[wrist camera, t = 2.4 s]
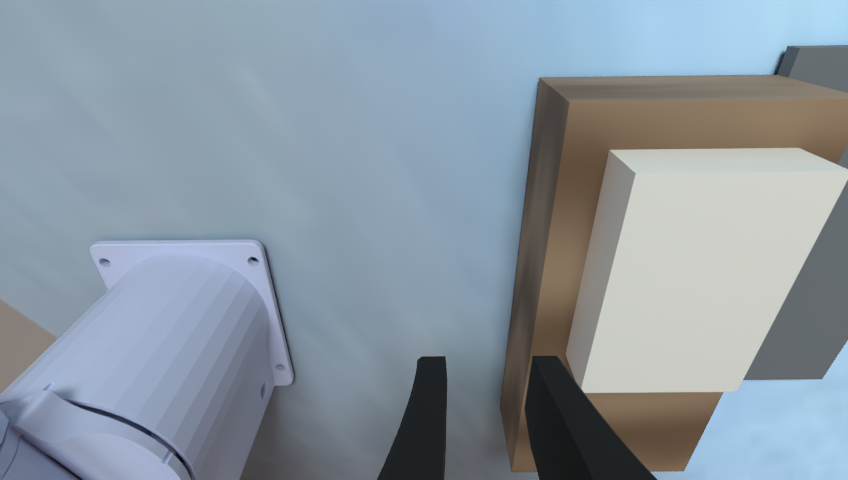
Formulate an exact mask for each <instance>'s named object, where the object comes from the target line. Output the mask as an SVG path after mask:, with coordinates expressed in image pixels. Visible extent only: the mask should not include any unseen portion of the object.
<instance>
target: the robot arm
mask: <svg viewBox="0 0 848 480" xmlns="http://www.w3.org/2000/svg"><path fill="white" fill-rule="evenodd" d="M90 253H91V255H92V257H93V260H94V262H95V264H96V266H97V268H98V270H99V272H100V274H101V276H102V278H103V280H104V282H105V285H106V287H107V289H108V291H107V292H106V293H105V294H104V295H103V296H102V297H101V298H100V299H99V300H98V301H97V302H96V303H95V304H93V305H92V306H91V307H90V308H89V309H88V310H87V311H86V312H85V313H84V314H83V315H82V316H81V317H80V318H79V319H78V320H77V321H76V322H75V323H74V324H73V325H72V326H71V327H70V328H69V329H68V330H67V331H66V332H65V333H63V334H62V335H61V336H60V337H59V338H58V339H57V340H56V341H55V342H54V343H53V344H52V345H51V346H50V347H49V348H48V349H47V350H46V351H45V352H44V353H43V354H42V355H41V356H40V357H39V358H38V359H37V360H36V361H35V362H34V363H33V364H31V366H29V367H28V368H27V369H26V370H25V371H24V372H23V373H22V374H21V375H20V376H19V377H18V378H17V379H16V380H15V381H14V382H13V383H12V384H11V385H10V386H9V387H8V388H7V389H6V390H5V391H4V392H2V394H0V480H239V479H240V477H241V475H242V472H243V469H244V466H245V464H246V461H247V458H248V456H249V453H250V450H251V448H252V445H253V442H254V440H255V437H256V434H257V432H258V429H259V426H260V424H261V421H262V418H263V416H264V413H265V410H266V408H267V405H268V402H269V399H270V397H271V394H272V391H273V389H274V386H286V385H290V384H291V383H292V382H293V379H294V374H293V369H292V365H291V361H290V357H289V352H288V348H287V344H286V340H285V335H284V331H283V327H282V323H281V318H280V314H279V310H278V305H277V301H276V297H275V293H274V288H273V284H272V280H271V276H270V271H269V267H268V263H267V259H266V254H265V250H264V247H263V245H262V244H261V243H260V242H258V241H256V240H146V241H98V242H96V243H95V244H94V245H93V246H91V248H90ZM251 257H255V258H257V259H258V262H256V261H253V260H252V259H251ZM105 259H107V260H109V262H110V263H109V262H108V261H106V260H105ZM280 364H282V365H280ZM446 410H447V371H446V360H445V356H437V357H421V358H419V359H418V361H417V370H416V375H415V380H414V384H413V388H412V391H411V395H410V398H409V402H408V405H407V408H406V410H405V413H404V416H403V419H402V422H401V425H400V428H399V430H398V433H397V435H396V438H395V440H394V442H393V445H392V447H391V449H390V452H389V454H388V457H387V459H386V461H385V464H384V466H383V468H382V470H381V472H380V474H379V476H378V479H377V480H444V472H445V451H446ZM524 410H525V416H526V422H527V428H528V434H529V440H530V446H531V450H532V454H533V458H534V461H535V465H536V469H537V472H538V476H539V479H540V480H657V479H656V478H655V477H654V476H653V475H652V474H651V472H650V471H649V470H648V469H647V468H646V467H645V466H644V465H643V464H642V463H641V461H640V460H639V459H638V458H637V457H636V456H635V455H634V454H633V452H632V451H631V450H630V449H629V448H628V447H627V446H626V444H625V443H624V442H623V441H622V440H621V439H620V437H619V436H618V435H617V434H616V433H615V431H614V430H613V429H612V428H611V426H610V425H609V424H608V423H607V422H606V420H605V419H604V418H603V417H602V415H601V414H600V413H599V412H598V410H597V409H596V408H595V407H594V405H593V404H592V403H591V401H590V400H589V399H588V397H587V396H586V395H585V393H584V392H583V391H582V389H581V388H580V387H579V385H578V384H577V383H576V381H575V380H574V378H573V377H572V376H571V374H570V373H569V371H568V370H567V369H566V367H565V366H564V364H563V363H562V361H561V360H560V359H559V358H558V357H557V356H533V357H532V364H531V370H530V376H529V382H528V388H527V395H526V401H525V407H524Z"/></svg>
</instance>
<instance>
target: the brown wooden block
mask: <svg viewBox="0 0 848 480" xmlns="http://www.w3.org/2000/svg"><path fill="white" fill-rule="evenodd" d="M847 145H848V93H846V92H842V91H838V90H834V89H830V88H827V87H823V86H819V85H815V84H811V83H807V82H803V81H799V80H795V79H791V78H788V77H784V76H780V75H714V76H630V77H545V78H539V85H538V93H537V102H536V110H535V119H534V127H533V136H532V144H531V152H530V161H529V169H528V178H527V186H526V195H525V203H524V212H523V220H522V228H521V237H520V245H519V254H518V262H517V271H516V279H515V288H514V296H513V304H512V313H511V321H510V330H509V338H508V347H507V355H506V364H505V372H504V380H503V389H502V397H501V406H500V409H501V415H502V421H503V426H504V432H505V437H506V443H507V449H508V454H509V460H510V465H511V471H512V472H537V469H536V465H535V461H534V458H533V454H532V450H531V446H530V440H529V434H528V428H527V422H526V416H525V410H524V407H525V401H526V395H527V388H528V382H529V376H530V370H531V364H532V357H533V356H557V357H558V358H559V359H560V360H561V361H562V363H563V364H564V366H565V367H566V369H567V370H568V371H569V373H570V374H571V376H572V377H573V378H574V376H573V373H572V370H571V368H570V365H569V363H568V360H567V357H566V350H567V345H568V341H569V336H570V331H571V327H572V322H573V317H574V313H575V308H576V303H577V299H578V294H579V289H580V285H581V280H582V275H583V271H584V266H585V261H586V257H587V252H588V247H589V243H590V238H591V233H592V229H593V224H594V219H595V215H596V210H597V205H598V201H599V196H600V191H601V187H602V182H603V177H604V173H605V168H606V163H607V159H608V154H609V150H640V149H733V148H800V149H803V150H805V151H807V152H809V153H812V154H814V155H816V156H819V157H821V158H823V159H825V160H828V161H830V162H832V163H835V164H837V165H838V163H839V161H840V159H841V157H842V155H843V153H844V151H845V149H846V147H847ZM574 380H575V378H574ZM722 394H723V392H648V393H585V395H586V396H587V397H588V399H589V400H590V401H591V403H592V404H593V405H594V407H595V408H596V409H597V410H598V412H599V413H600V414H601V415H602V417H603V418H604V419H605V420H606V422H607V423H608V424H609V425H610V426H611V428H612V429H613V430H614V431H615V433H616V434H617V435H618V436H619V437H620V439H621V440H622V441H623V442H624V443H625V444H626V446H627V447H628V448H629V449H630V450H631V451H632V452H633V454H634V455H635V456H636V457H637V458H638V459H639V460H640V461H641V463H642V464H643V465H644V466H645V467H646V468H647V469H648V470H649V471H684V470H685V468H686V466H687V464H688V462H689V460H690V458H691V456H692V454H693V452H694V450H695V448H696V446H697V444H698V442H699V440H700V438H701V436H702V434H703V432H704V430H705V428H706V426H707V424H708V422H709V420H710V418H711V416H712V414H713V412H714V410H715V408H716V406H717V404H718V402H719V400H720V398H721V396H722Z"/></svg>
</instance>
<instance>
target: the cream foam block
mask: <svg viewBox="0 0 848 480" xmlns="http://www.w3.org/2000/svg"><path fill="white" fill-rule="evenodd" d="M847 180H848V169H846V168H844V167H842V166H839V165H837V164H835V163H832V162H830V161H828V160H825V159H823V158H821V157H819V156H816V155H814V154H812V153H809V152H807V151H805V150H803V149H800V148H733V149H640V150H609V154H608V159H607V163H606V168H605V173H604V177H603V182H602V187H601V191H600V196H599V201H598V205H597V210H596V215H595V219H594V224H593V229H592V233H591V238H590V243H589V247H588V252H587V257H586V261H585V266H584V271H583V275H582V280H581V285H580V289H579V294H578V299H577V303H576V308H575V313H574V317H573V322H572V327H571V331H570V336H569V341H568V345H567V350H566V357H567V360H568V363H569V365H570V368H571V370H572V373H573V376H574V378H575V381H576V383H577V384H578V385H579V387H580V388H581V389H582V391H583V392H584V393H648V392H737V390H738V388H739V386H740V385H741V383H742V381H743V379H744V377H745V375H746V373H747V371H748V369H749V367H750V366H751V364H752V362H753V360H754V358H755V356H756V354H757V352H758V350H759V348H760V346H761V345H762V343H763V341H764V339H765V337H766V335H767V333H768V331H769V329H770V327H771V325H772V324H773V322H774V320H775V318H776V316H777V314H778V312H779V310H780V308H781V306H782V304H783V303H784V301H785V299H786V297H787V295H788V293H789V291H790V289H791V287H792V285H793V283H794V282H795V280H796V278H797V276H798V274H799V272H800V270H801V268H802V266H803V264H804V262H805V261H806V259H807V257H808V255H809V253H810V251H811V249H812V247H813V245H814V243H815V241H816V240H817V238H818V236H819V234H820V232H821V230H822V228H823V226H824V224H825V222H826V220H827V219H828V217H829V215H830V213H831V211H832V209H833V207H834V205H835V203H836V201H837V199H838V198H839V196H840V194H841V192H842V190H843V188H844V186H845V184H846V182H847Z"/></svg>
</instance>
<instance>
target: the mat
mask: <svg viewBox="0 0 848 480" xmlns="http://www.w3.org/2000/svg"><path fill="white" fill-rule="evenodd" d="M777 75H780V76H784V77H788V78H791V79H795V80H799V81H803V82H807V83H811V84H815V85H819V86H823V87H827V88H830V89H834V90H838V91H842V92H846V93H848V45H834V46H788V47H787V50H786V52H785V55H784V57H783V60H782V63H781V65H780V68H779V71H778V73H777ZM838 165H839V166H842V167H844V168H846V169H848V145H847V147H846V149H845V151H844V153H843V155H842V157H841V159H840V161H839V163H838ZM847 340H848V180H847V182H846V184H845V186H844V188H843V190H842V192H841V194H840V196H839V198H838V199H837V201H836V203H835V205H834V207H833V209H832V211H831V213H830V215H829V217H828V219H827V220H826V222H825V224H824V226H823V228H822V230H821V232H820V234H819V236H818V238H817V240H816V241H815V243H814V245H813V247H812V249H811V251H810V253H809V255H808V257H807V259H806V261H805V262H804V264H803V266H802V268H801V270H800V272H799V274H798V276H797V278H796V280H795V282H794V283H793V285H792V287H791V289H790V291H789V293H788V295H787V297H786V299H785V301H784V303H783V304H782V306H781V308H780V310H779V312H778V314H777V316H776V318H775V320H774V322H773V324H772V325H771V327H770V329H769V331H768V333H767V335H766V337H765V339H764V341H763V343H762V345H761V346H760V348H759V350H758V352H757V354H756V356H755V358H754V360H753V362H752V364H751V366H750V367H749V369H748V371H747V373H746V375H745V377H744V379H743V380H777V379H822V378H823V377H824V375H825V374H826V372H827V371H828V369H829V368H830V366H831V364H832V363H833V361H834V360H835V358H836V357H837V355H838V354H839V352H840V351H841V349H842V348H843V346H844V345H845V343H846V342H847Z"/></svg>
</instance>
